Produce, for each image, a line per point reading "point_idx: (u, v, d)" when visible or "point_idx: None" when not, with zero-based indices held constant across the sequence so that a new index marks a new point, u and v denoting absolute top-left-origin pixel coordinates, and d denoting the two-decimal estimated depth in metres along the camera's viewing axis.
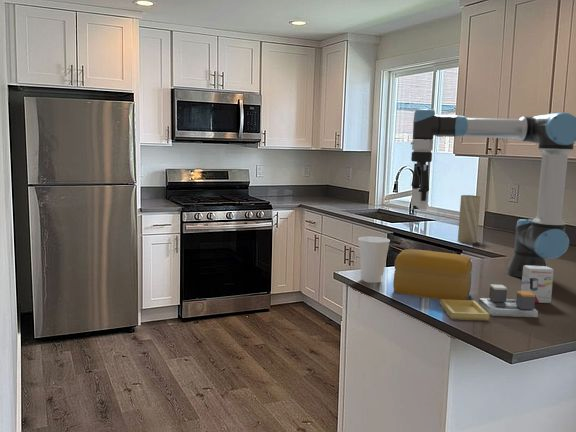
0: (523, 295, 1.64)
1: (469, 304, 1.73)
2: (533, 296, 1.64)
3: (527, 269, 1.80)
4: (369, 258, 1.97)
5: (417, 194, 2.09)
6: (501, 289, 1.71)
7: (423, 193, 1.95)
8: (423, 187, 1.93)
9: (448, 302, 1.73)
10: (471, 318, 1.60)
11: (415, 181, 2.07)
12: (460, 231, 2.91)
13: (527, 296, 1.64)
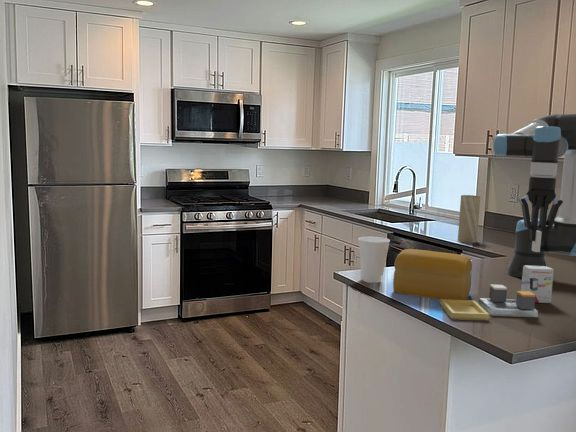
0: (523, 295, 1.64)
1: (469, 304, 1.73)
2: (533, 296, 1.64)
3: (527, 269, 1.80)
4: (369, 258, 1.97)
5: None
6: (501, 289, 1.71)
7: (530, 231, 1.69)
8: (525, 225, 1.69)
9: (448, 302, 1.73)
10: (471, 318, 1.60)
11: (540, 216, 1.69)
12: (460, 231, 2.91)
13: (527, 296, 1.64)
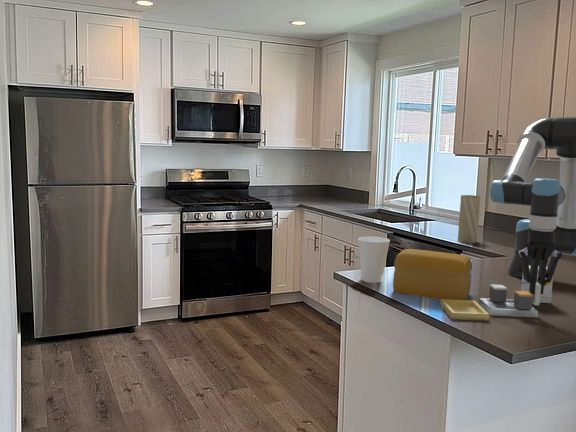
0: (521, 295, 1.64)
1: (469, 304, 1.73)
2: (531, 296, 1.64)
3: None
4: (369, 258, 1.97)
5: None
6: (501, 289, 1.71)
7: (530, 284, 1.66)
8: (524, 278, 1.66)
9: (448, 302, 1.73)
10: (471, 318, 1.60)
11: (539, 269, 1.66)
12: (460, 231, 2.91)
13: (525, 296, 1.64)
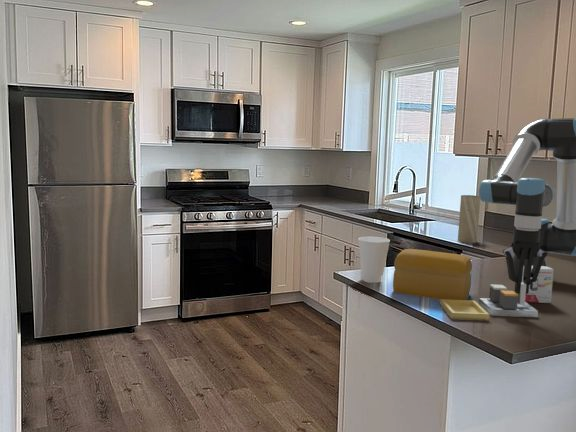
0: (506, 294, 1.64)
1: (469, 304, 1.73)
2: (516, 295, 1.64)
3: None
4: (369, 258, 1.97)
5: None
6: (501, 289, 1.71)
7: (515, 284, 1.66)
8: (509, 278, 1.66)
9: (448, 302, 1.73)
10: (471, 318, 1.60)
11: (524, 268, 1.66)
12: (460, 231, 2.91)
13: (510, 295, 1.64)
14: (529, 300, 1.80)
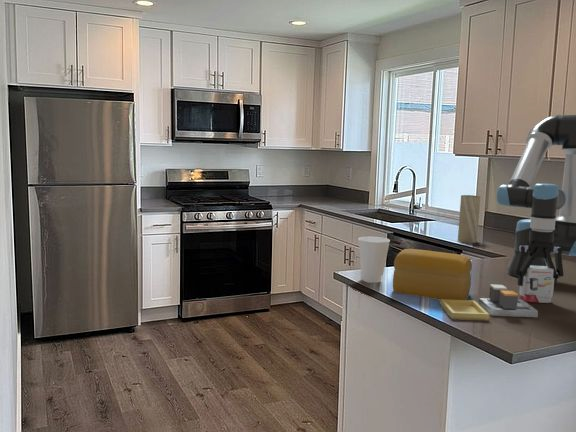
0: (506, 294, 1.64)
1: (469, 304, 1.73)
2: (516, 295, 1.64)
3: None
4: (369, 258, 1.97)
5: None
6: (501, 289, 1.71)
7: (518, 277, 1.81)
8: (513, 270, 1.82)
9: (448, 302, 1.73)
10: (471, 318, 1.60)
11: (548, 265, 1.81)
12: (460, 231, 2.91)
13: (510, 295, 1.64)
14: (529, 300, 1.80)
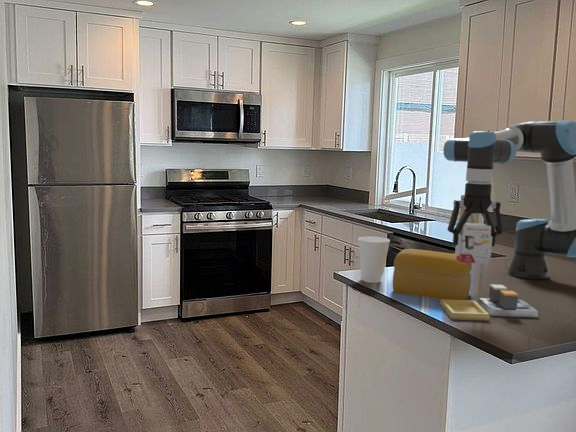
0: (506, 294, 1.64)
1: (469, 304, 1.73)
2: (516, 295, 1.64)
3: None
4: (369, 258, 1.97)
5: None
6: (501, 289, 1.71)
7: (453, 235, 1.65)
8: (448, 228, 1.65)
9: (448, 302, 1.73)
10: (471, 318, 1.60)
11: None
12: None
13: (510, 295, 1.64)
14: (465, 260, 1.63)
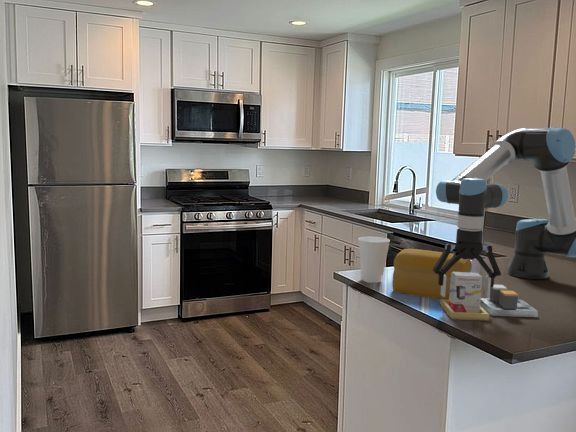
0: (506, 294, 1.64)
1: None
2: (516, 295, 1.64)
3: (454, 276, 1.64)
4: (369, 258, 1.97)
5: (487, 284, 1.65)
6: (501, 289, 1.71)
7: None
8: (433, 268, 1.66)
9: (448, 302, 1.73)
10: (471, 318, 1.60)
11: (482, 266, 1.66)
12: None
13: (510, 295, 1.64)
14: (456, 310, 1.64)
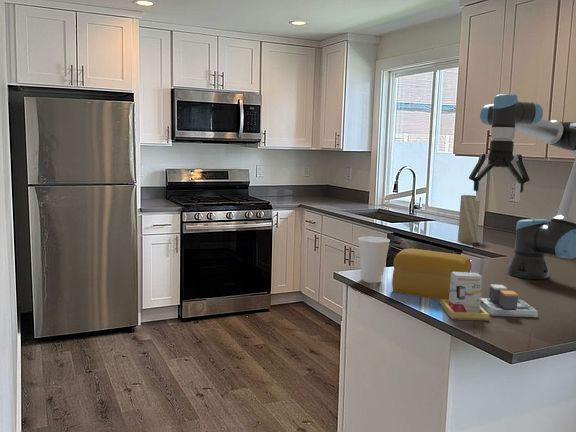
0: (506, 294, 1.64)
1: None
2: (516, 295, 1.64)
3: (454, 276, 1.64)
4: (369, 258, 1.97)
5: (517, 189, 1.87)
6: (501, 289, 1.71)
7: (474, 183, 1.88)
8: (469, 176, 1.88)
9: (448, 302, 1.73)
10: (471, 318, 1.60)
11: None
12: (460, 231, 2.91)
13: (510, 295, 1.64)
14: (456, 310, 1.64)
